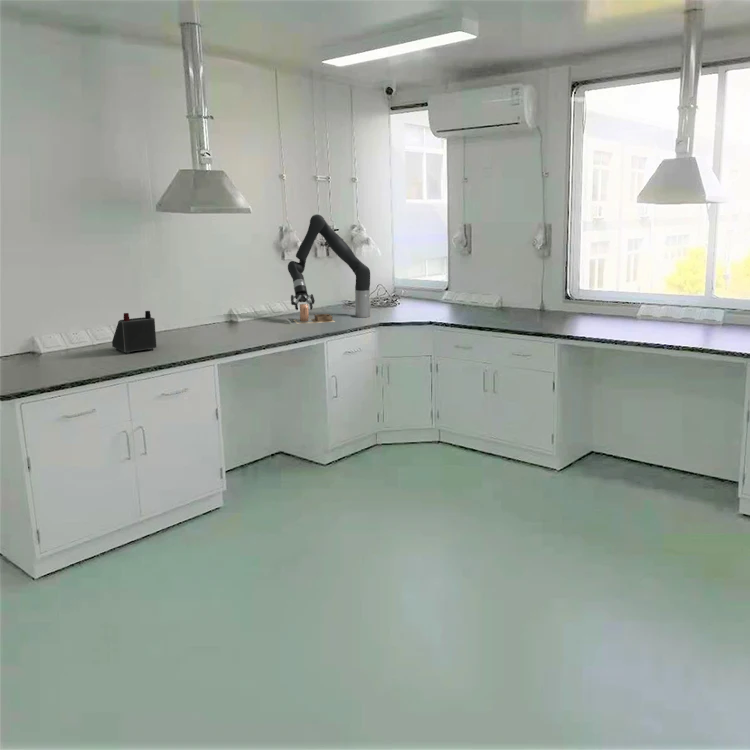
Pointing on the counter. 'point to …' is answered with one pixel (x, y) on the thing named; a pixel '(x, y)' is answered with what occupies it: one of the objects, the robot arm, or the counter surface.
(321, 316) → the station board
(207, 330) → the counter surface
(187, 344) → the counter surface
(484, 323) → the counter surface
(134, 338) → the voltmeter
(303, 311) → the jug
